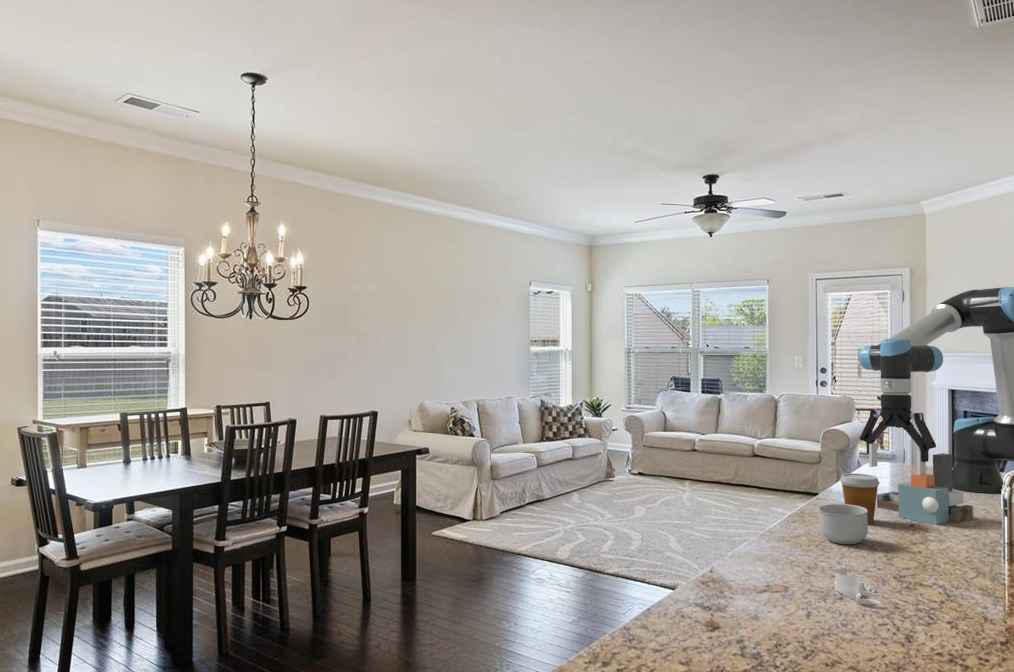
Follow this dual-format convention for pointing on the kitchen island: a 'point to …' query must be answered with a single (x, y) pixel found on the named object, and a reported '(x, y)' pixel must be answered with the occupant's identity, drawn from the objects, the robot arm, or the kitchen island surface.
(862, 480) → the disposable coffee cup
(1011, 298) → the robot arm
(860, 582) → the white figurine
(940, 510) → the cabinet
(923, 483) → the button
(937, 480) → the carriage
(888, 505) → the rail board
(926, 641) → the kitchen island surface
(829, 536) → the light gray bowl
